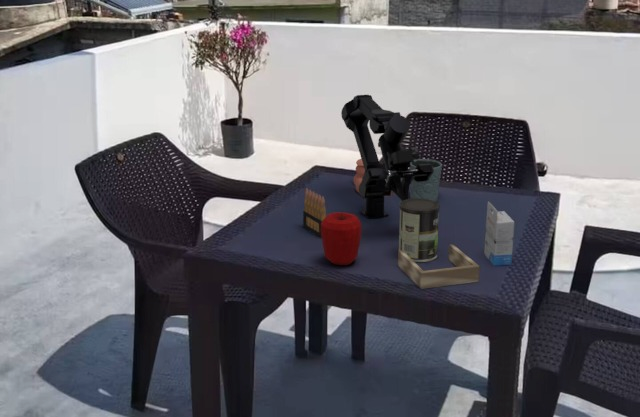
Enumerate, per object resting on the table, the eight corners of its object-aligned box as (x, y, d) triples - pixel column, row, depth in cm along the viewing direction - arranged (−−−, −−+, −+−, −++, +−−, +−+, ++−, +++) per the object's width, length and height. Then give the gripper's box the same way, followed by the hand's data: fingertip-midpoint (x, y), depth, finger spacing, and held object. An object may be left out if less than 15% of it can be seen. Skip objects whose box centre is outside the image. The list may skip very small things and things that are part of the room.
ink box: (512, 265, 200) (516, 210, 195) (493, 266, 199) (496, 211, 195) (501, 253, 208) (505, 199, 203) (483, 253, 207) (487, 200, 203)
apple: (314, 257, 205) (314, 208, 201) (350, 252, 209) (351, 203, 205) (330, 272, 196) (330, 221, 192) (367, 266, 200) (368, 215, 195)
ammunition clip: (327, 237, 220) (327, 196, 216) (321, 238, 219) (321, 197, 215) (308, 226, 228) (308, 186, 224) (303, 227, 227) (302, 187, 224)
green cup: (418, 192, 258) (419, 157, 254) (446, 198, 252) (447, 162, 248) (402, 200, 250) (403, 164, 246) (431, 206, 244) (432, 169, 240)
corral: (397, 265, 200) (398, 250, 199) (452, 258, 204) (452, 244, 203) (421, 289, 187) (421, 273, 185) (478, 281, 191) (479, 266, 189)
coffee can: (438, 249, 211) (440, 198, 206) (436, 263, 201) (439, 211, 197) (399, 246, 213) (401, 196, 208) (396, 261, 203) (397, 209, 198)
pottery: (392, 196, 255) (393, 166, 252) (365, 198, 252) (365, 169, 249) (373, 180, 271) (373, 153, 268) (347, 183, 269) (347, 155, 266)
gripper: (367, 139, 208) (381, 191, 202) (432, 134, 213) (448, 185, 207) (357, 160, 218) (370, 211, 212) (420, 155, 223) (434, 204, 216)
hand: (406, 202), depth 211 cm, fingers closed
